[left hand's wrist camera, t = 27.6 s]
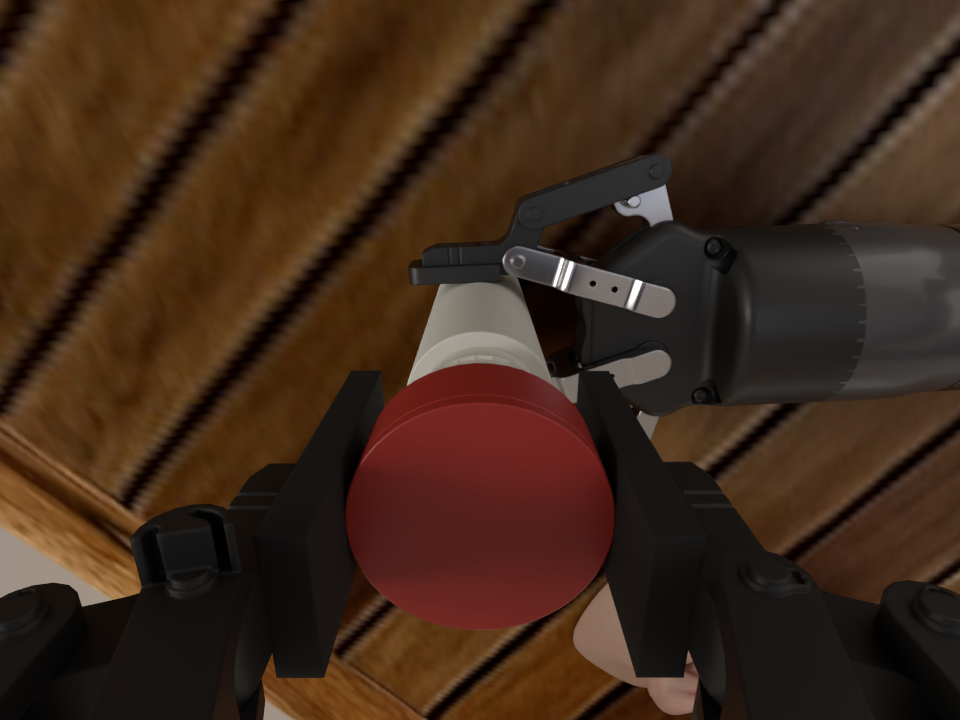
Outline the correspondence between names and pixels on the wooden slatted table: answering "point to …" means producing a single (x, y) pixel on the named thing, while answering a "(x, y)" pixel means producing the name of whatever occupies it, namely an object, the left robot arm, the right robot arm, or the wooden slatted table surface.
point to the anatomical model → (608, 651)
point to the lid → (480, 499)
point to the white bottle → (480, 329)
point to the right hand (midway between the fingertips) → (417, 331)
